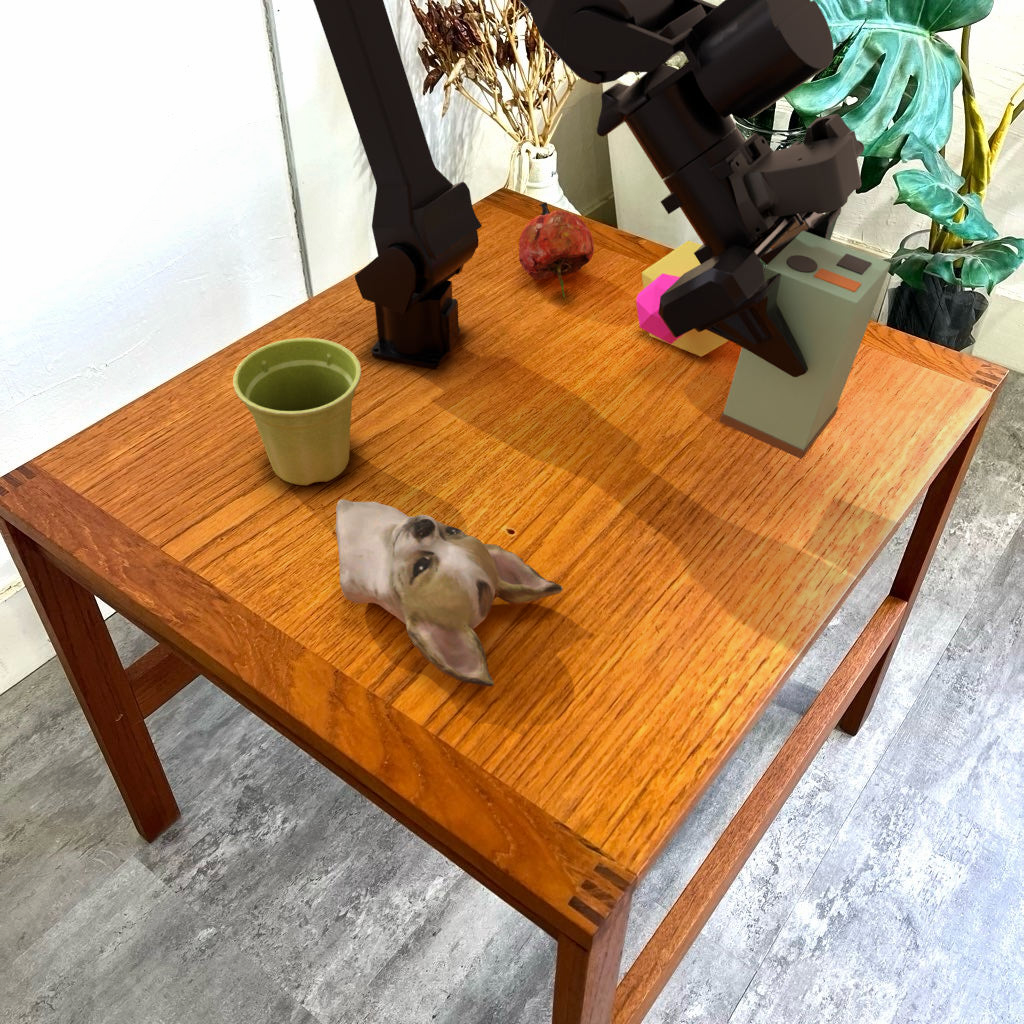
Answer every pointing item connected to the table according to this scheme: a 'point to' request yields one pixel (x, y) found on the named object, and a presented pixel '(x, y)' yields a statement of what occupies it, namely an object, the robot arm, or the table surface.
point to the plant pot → (301, 405)
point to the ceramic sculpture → (431, 581)
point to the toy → (659, 282)
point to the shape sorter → (807, 343)
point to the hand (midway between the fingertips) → (821, 348)
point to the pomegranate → (555, 245)
